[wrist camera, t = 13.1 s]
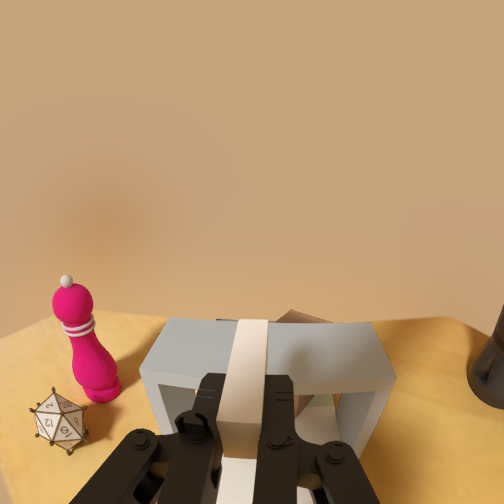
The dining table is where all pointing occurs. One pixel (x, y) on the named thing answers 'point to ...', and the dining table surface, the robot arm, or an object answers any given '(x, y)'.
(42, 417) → the game die
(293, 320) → the walnut block
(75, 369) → the pepper mill
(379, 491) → the dining table surface
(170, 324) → the tunnel
